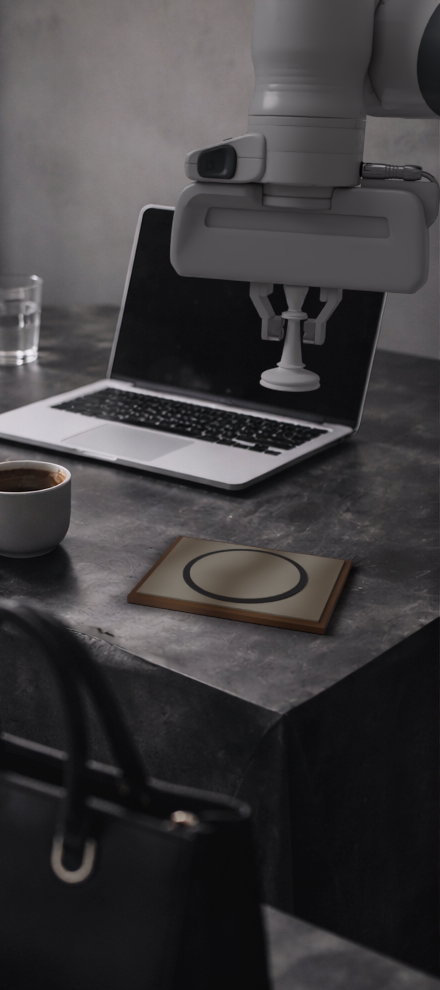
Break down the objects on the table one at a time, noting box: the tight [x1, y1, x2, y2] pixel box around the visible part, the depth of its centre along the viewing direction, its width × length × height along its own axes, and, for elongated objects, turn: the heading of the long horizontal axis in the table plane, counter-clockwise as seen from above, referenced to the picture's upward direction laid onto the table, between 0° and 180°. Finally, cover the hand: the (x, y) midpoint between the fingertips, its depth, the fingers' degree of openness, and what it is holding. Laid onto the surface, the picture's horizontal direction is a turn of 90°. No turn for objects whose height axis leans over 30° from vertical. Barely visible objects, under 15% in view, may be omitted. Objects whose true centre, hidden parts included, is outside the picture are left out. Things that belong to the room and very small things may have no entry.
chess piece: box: [259, 284, 321, 393], centre depth 78 cm, size 5×5×10 cm
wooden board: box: [126, 535, 353, 635], centre depth 82 cm, size 16×13×1 cm
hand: (292, 341), depth 79 cm, fingers closed on chess piece
